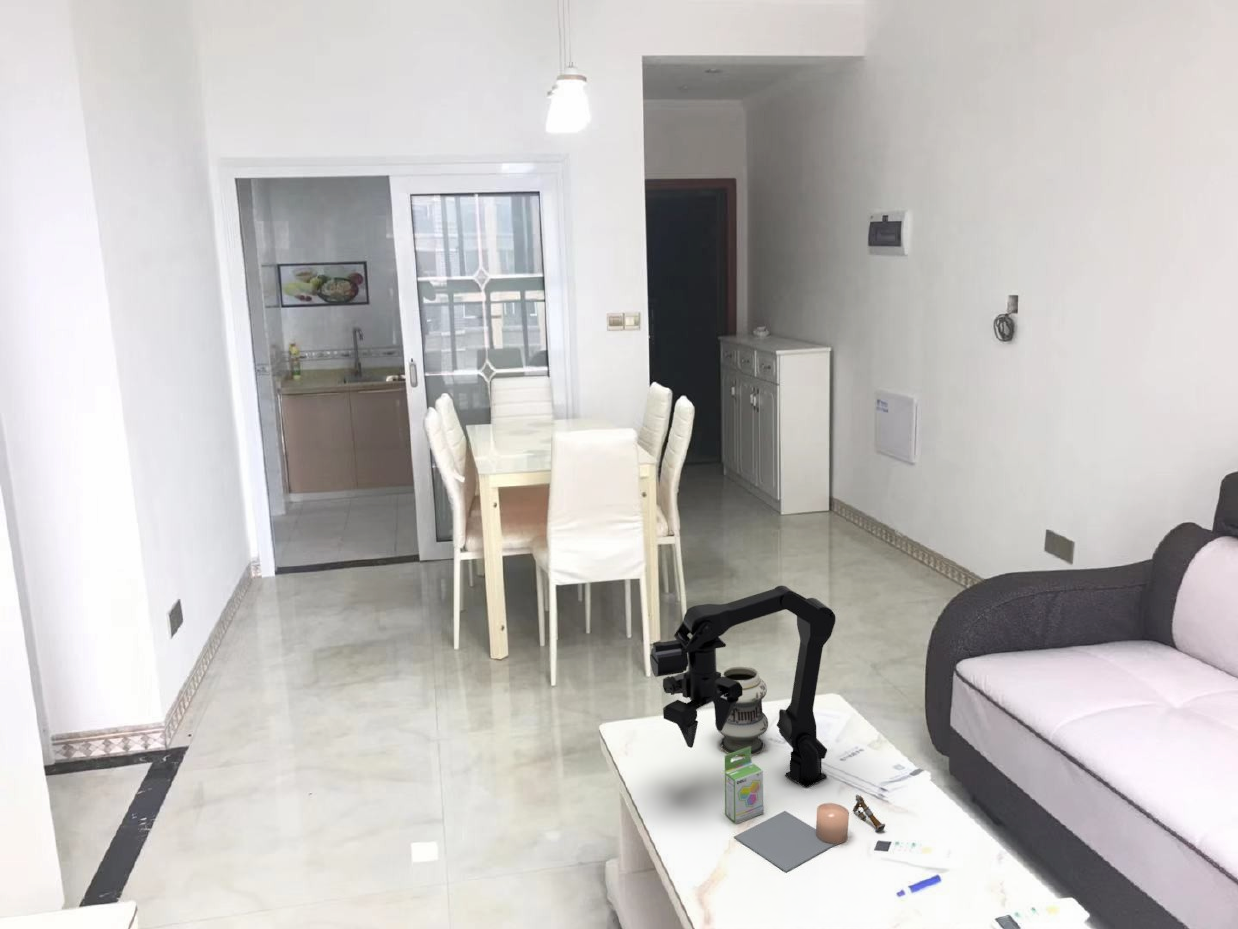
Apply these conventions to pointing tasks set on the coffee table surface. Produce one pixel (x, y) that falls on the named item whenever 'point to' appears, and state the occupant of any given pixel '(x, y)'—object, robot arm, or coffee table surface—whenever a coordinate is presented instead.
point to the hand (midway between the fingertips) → (704, 738)
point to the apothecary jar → (745, 712)
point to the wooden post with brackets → (867, 813)
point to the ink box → (743, 787)
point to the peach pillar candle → (832, 823)
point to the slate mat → (784, 841)
